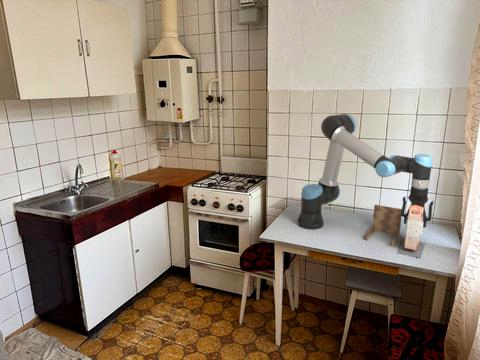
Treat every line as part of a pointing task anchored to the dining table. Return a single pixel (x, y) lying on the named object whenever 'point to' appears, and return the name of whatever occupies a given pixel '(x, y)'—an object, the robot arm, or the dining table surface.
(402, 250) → the mat
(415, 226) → the cracker box
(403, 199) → the robot arm
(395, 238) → the brown wooden legged piece
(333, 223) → the dining table surface
